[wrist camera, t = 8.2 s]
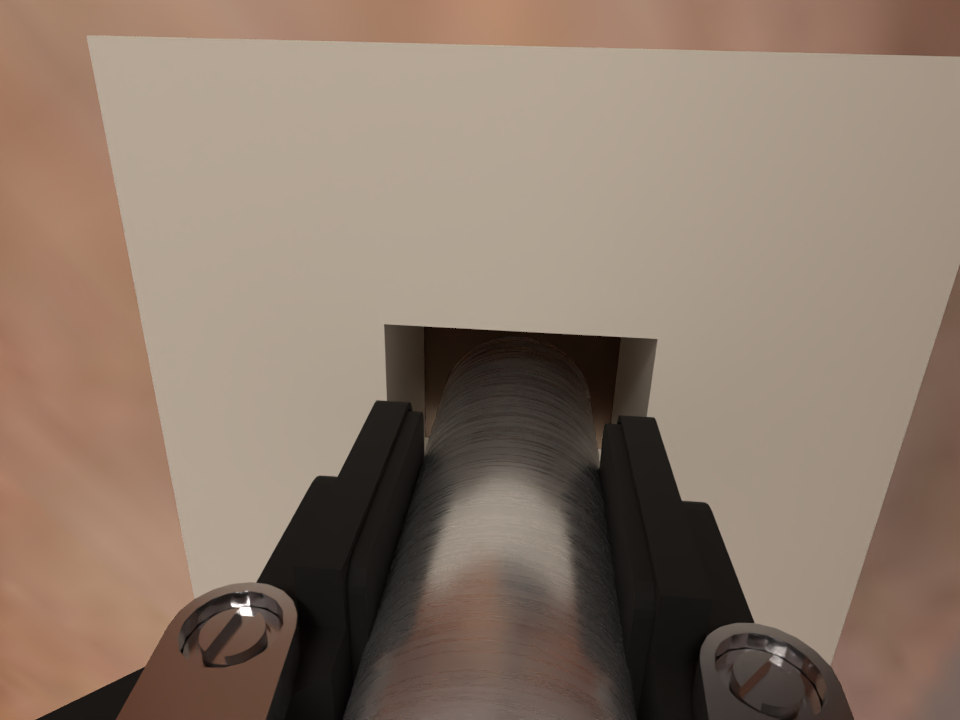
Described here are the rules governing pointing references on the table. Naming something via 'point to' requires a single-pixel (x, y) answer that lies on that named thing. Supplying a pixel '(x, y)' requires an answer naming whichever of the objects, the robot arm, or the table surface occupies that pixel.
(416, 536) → the peg
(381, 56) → the hole block
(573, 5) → the table surface
